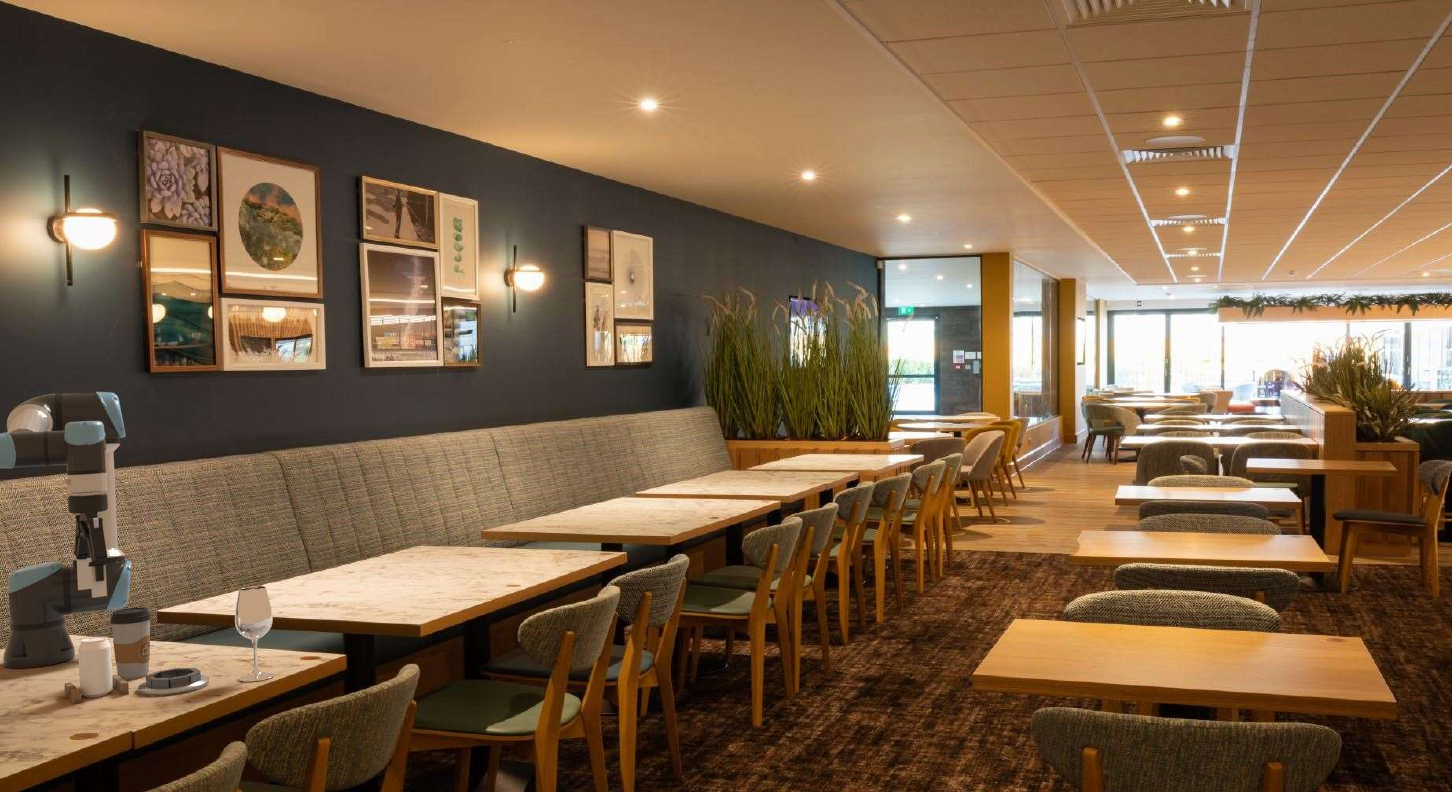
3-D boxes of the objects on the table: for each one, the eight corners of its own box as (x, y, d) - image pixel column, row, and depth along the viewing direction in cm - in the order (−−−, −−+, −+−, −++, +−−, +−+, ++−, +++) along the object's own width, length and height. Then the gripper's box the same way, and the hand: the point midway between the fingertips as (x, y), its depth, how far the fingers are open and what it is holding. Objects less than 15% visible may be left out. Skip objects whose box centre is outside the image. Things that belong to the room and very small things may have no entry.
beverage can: (79, 700, 259) (76, 643, 258) (81, 693, 264) (79, 638, 264) (112, 696, 261) (109, 639, 261) (113, 689, 267) (111, 634, 267)
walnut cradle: (64, 695, 263) (64, 683, 263) (117, 685, 270) (117, 674, 270) (74, 704, 256) (74, 692, 256) (128, 694, 262) (128, 682, 262)
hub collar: (131, 687, 268) (130, 673, 268) (198, 675, 277) (197, 662, 277) (147, 699, 257) (146, 685, 257) (217, 686, 266) (216, 673, 266)
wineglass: (266, 671, 278) (262, 583, 278) (281, 676, 273) (277, 587, 272) (231, 678, 273) (227, 588, 273) (246, 684, 267) (242, 592, 267)
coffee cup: (137, 681, 273) (134, 614, 273) (104, 680, 275) (101, 614, 275) (161, 672, 282) (158, 606, 281) (129, 671, 283) (126, 606, 283)
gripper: (56, 492, 269) (60, 588, 270) (80, 498, 250) (85, 602, 250) (93, 489, 274) (98, 583, 274) (120, 495, 254) (125, 597, 255)
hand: (92, 592), depth 262 cm, fingers open, 13 cm apart
